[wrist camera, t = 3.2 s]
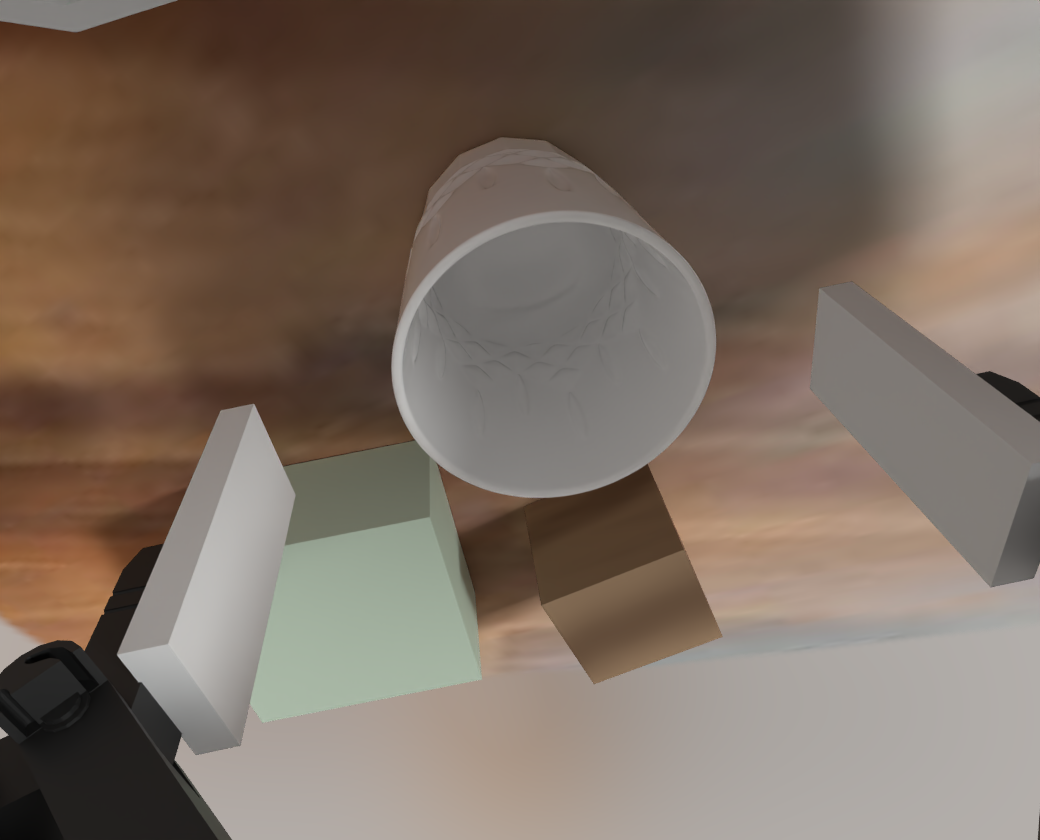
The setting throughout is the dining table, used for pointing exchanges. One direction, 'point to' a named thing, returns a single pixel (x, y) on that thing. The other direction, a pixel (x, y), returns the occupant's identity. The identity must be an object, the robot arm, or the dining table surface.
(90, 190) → the dining table surface
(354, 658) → the base block
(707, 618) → the walnut cube
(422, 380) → the white cup
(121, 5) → the plastic cup
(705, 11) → the dining table surface
